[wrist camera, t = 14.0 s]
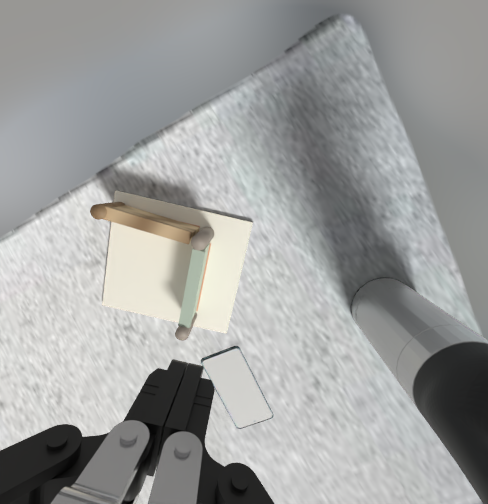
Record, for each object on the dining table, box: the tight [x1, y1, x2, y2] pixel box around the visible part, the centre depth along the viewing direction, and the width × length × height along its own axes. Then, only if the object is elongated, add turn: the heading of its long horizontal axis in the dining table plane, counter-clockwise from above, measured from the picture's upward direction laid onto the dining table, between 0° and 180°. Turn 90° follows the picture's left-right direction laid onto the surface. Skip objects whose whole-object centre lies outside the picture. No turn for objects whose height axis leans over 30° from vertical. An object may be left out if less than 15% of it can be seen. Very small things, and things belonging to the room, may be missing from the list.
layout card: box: [102, 191, 253, 334], centre depth 42 cm, size 20×18×1 cm
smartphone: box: [201, 346, 273, 429], centre depth 47 cm, size 7×1×15 cm
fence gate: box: [90, 202, 199, 244], centre depth 37 cm, size 12×2×6 cm, turn 73°
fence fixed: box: [175, 227, 215, 341], centre depth 39 cm, size 2×15×7 cm, turn 167°
